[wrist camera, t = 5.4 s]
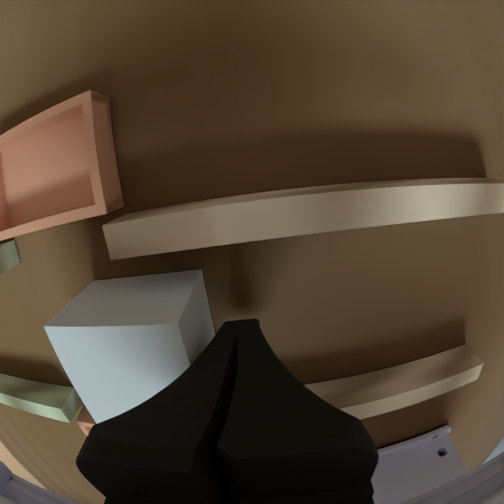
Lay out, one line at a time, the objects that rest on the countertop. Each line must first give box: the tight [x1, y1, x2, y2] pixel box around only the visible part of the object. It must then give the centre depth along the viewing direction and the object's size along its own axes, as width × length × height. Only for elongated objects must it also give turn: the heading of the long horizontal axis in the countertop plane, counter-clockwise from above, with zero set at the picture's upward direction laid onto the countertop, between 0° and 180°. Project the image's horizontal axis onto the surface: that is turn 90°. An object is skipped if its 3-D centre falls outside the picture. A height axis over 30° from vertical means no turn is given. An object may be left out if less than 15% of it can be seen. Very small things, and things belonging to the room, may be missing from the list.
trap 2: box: [0, 90, 124, 241], centre depth 9 cm, size 7×4×2 cm, turn 98°
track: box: [0, 178, 504, 423], centre depth 11 cm, size 32×10×2 cm, turn 98°
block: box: [44, 269, 215, 424], centre depth 10 cm, size 5×5×4 cm
